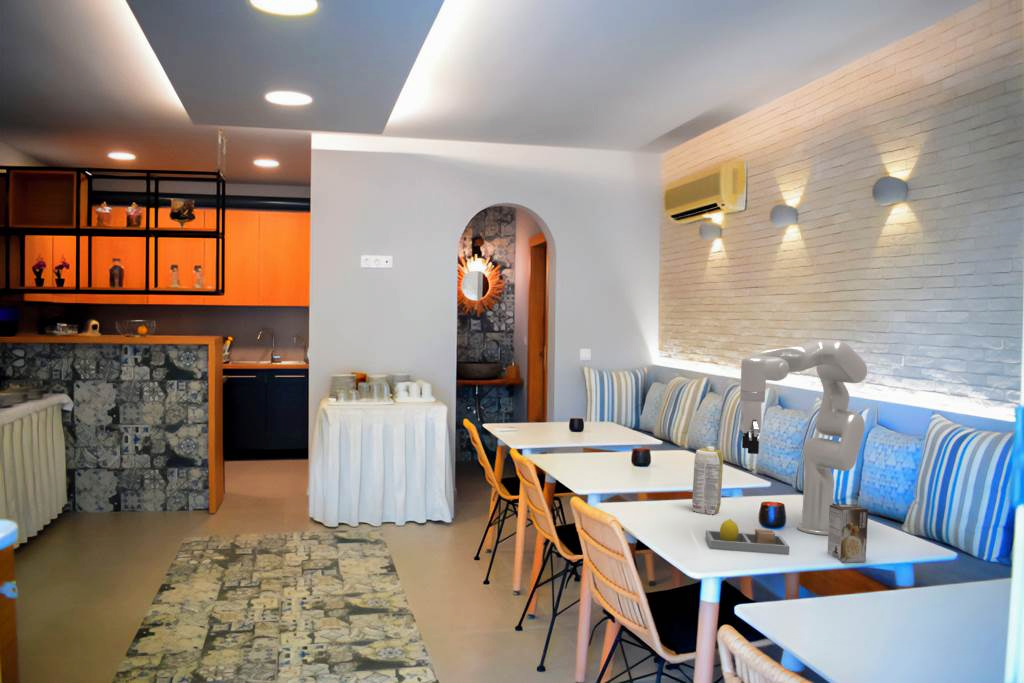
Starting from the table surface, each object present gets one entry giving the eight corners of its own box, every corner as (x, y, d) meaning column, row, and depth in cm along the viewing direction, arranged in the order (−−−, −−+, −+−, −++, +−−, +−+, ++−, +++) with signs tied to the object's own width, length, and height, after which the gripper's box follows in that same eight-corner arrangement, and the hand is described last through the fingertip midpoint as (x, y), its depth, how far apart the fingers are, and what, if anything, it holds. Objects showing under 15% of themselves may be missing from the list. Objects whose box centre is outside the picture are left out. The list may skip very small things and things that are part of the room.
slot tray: (705, 541, 258) (705, 530, 258) (779, 546, 256) (780, 535, 255) (710, 552, 246) (711, 540, 246) (788, 558, 244) (789, 546, 243)
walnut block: (754, 544, 253) (755, 528, 253) (770, 545, 252) (771, 530, 252) (757, 549, 248) (758, 533, 248) (774, 550, 247) (775, 534, 247)
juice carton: (721, 512, 299) (725, 447, 298) (714, 516, 292) (718, 449, 291) (697, 508, 304) (700, 444, 303) (689, 511, 297) (693, 446, 296)
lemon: (734, 542, 254) (735, 517, 254) (740, 547, 249) (741, 522, 248) (716, 541, 254) (718, 516, 254) (722, 547, 248) (724, 521, 248)
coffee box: (851, 555, 249) (855, 503, 249) (866, 562, 243) (869, 509, 243) (826, 556, 247) (829, 504, 246) (839, 563, 241) (843, 509, 240)
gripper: (735, 393, 265) (733, 445, 265) (745, 399, 247) (742, 455, 248) (759, 394, 264) (756, 446, 265) (770, 400, 247) (768, 456, 247)
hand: (750, 450), depth 256 cm, fingers open, 9 cm apart
